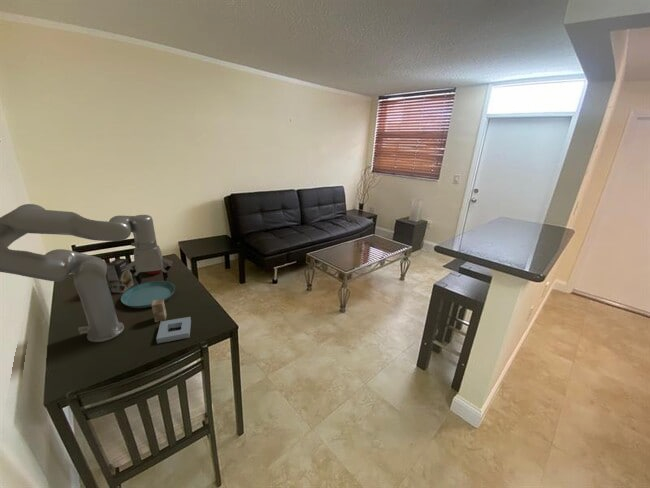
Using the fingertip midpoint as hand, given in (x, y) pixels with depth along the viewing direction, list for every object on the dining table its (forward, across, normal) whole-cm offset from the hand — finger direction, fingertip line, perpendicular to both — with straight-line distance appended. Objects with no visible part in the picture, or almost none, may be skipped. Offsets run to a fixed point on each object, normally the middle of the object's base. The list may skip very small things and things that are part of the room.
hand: (153, 281), depth 123 cm
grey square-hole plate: (+20, +7, -12) cm, 24 cm away
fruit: (+20, -10, +52) cm, 57 cm away
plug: (+20, 0, 0) cm, 20 cm away
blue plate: (+20, -8, +22) cm, 31 cm away
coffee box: (+20, -23, +36) cm, 47 cm away
